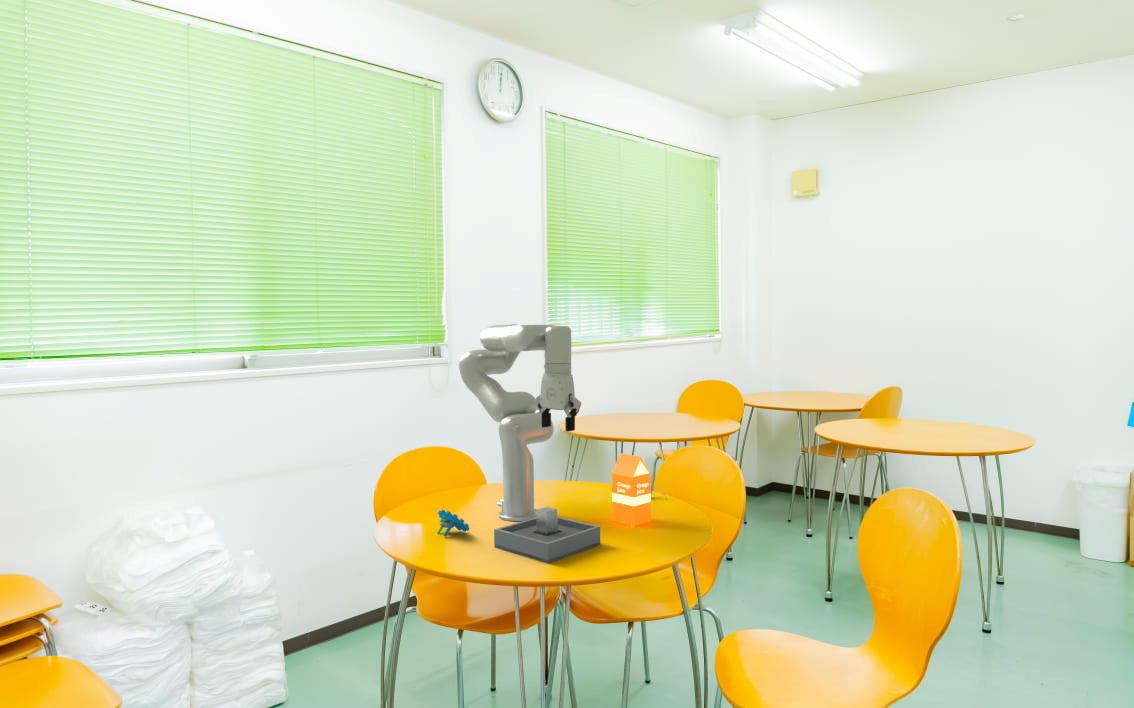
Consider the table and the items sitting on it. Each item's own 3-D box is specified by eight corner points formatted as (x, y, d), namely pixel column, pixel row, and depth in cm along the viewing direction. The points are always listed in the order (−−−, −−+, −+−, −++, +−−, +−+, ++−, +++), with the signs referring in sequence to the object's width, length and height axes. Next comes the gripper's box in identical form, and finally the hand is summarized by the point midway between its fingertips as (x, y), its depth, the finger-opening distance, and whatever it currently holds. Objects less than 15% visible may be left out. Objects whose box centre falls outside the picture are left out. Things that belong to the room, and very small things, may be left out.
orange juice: (629, 516, 219) (628, 451, 218) (651, 521, 212) (650, 455, 211) (611, 521, 213) (611, 454, 212) (633, 526, 207) (633, 458, 206)
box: (494, 548, 189) (494, 529, 188) (547, 531, 203) (546, 514, 203) (548, 564, 175) (547, 544, 175) (600, 545, 190) (600, 526, 190)
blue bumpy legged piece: (477, 528, 199) (451, 507, 195) (466, 546, 196) (440, 526, 192) (457, 527, 208) (432, 507, 204) (446, 544, 205) (421, 525, 201)
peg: (536, 543, 189) (536, 509, 189) (547, 539, 192) (547, 506, 192) (547, 546, 186) (546, 512, 186) (558, 542, 189) (557, 509, 189)
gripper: (527, 368, 205) (528, 426, 206) (570, 371, 193) (570, 434, 194) (546, 366, 211) (546, 424, 212) (589, 370, 198) (589, 430, 199)
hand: (558, 428), depth 203 cm, fingers open, 9 cm apart
